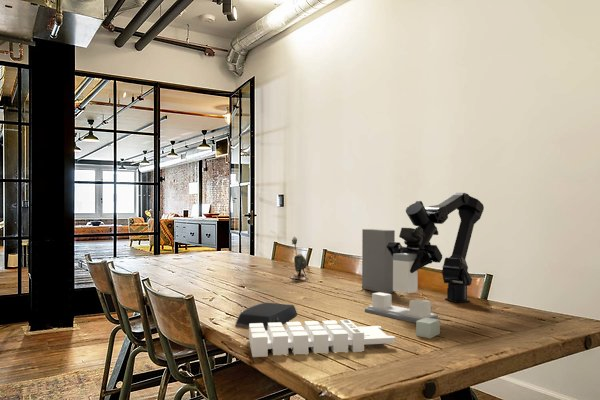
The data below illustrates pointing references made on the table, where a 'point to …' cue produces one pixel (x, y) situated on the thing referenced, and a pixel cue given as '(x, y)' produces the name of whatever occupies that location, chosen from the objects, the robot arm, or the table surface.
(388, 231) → the tall upright grey panel
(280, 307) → the dark grey faceted block
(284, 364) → the table surface
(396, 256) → the block
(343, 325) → the organizer
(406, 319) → the board
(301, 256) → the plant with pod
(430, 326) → the box
